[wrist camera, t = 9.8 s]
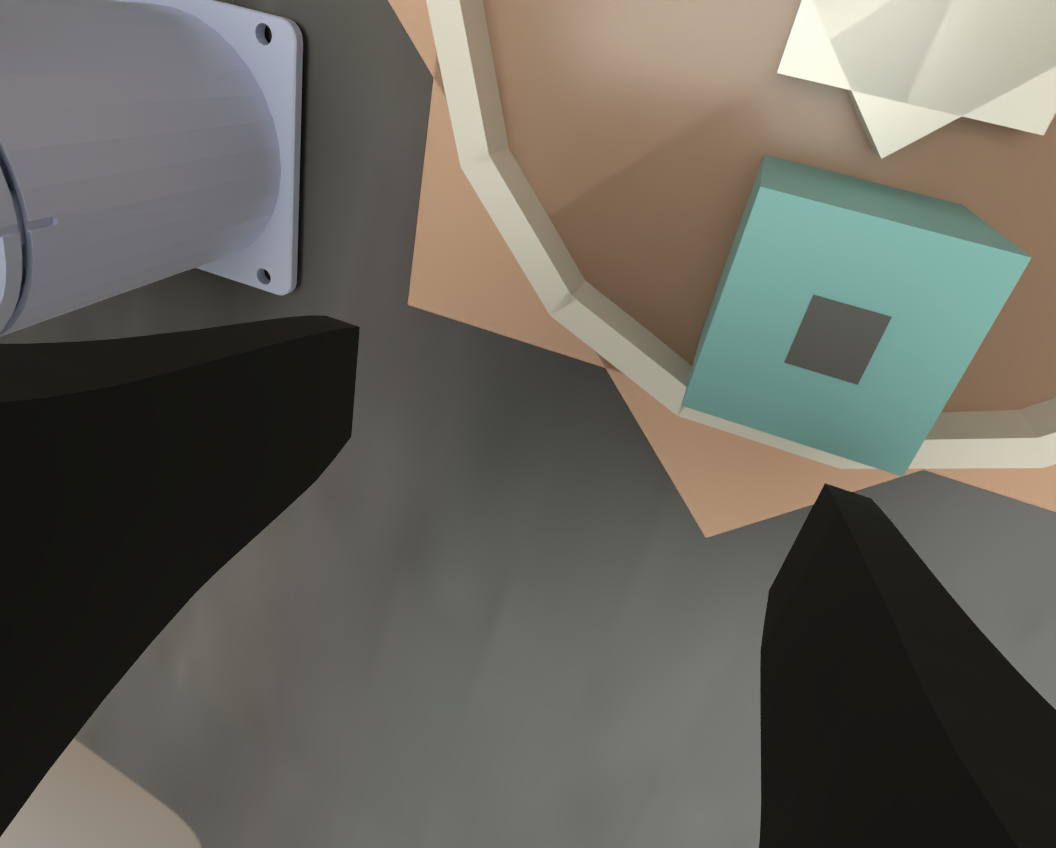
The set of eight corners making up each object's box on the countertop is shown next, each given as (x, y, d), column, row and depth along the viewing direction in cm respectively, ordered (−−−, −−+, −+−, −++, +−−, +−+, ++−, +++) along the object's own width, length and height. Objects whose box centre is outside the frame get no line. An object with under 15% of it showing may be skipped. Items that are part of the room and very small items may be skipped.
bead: (702, 327, 19) (681, 406, 14) (764, 154, 16) (760, 186, 12) (872, 379, 18) (903, 477, 14) (962, 204, 16) (1031, 258, 11)
